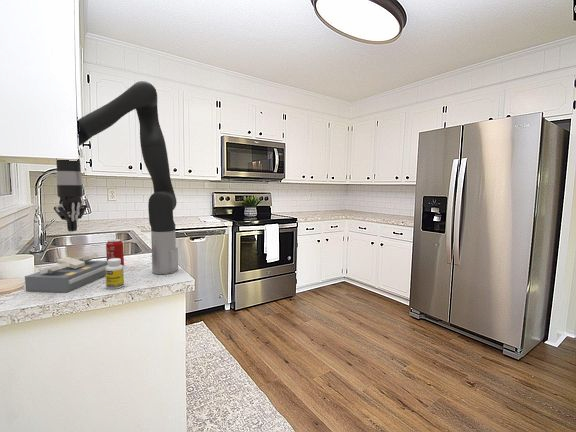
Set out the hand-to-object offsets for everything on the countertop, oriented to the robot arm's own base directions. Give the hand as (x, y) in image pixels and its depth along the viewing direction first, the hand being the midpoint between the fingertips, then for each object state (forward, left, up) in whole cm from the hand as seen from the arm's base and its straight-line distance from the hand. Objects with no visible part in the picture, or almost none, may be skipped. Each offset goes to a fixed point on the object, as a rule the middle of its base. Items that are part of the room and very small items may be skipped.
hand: (72, 230), depth 109 cm
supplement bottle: (-20, +7, -18) cm, 28 cm away
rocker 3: (-2, -4, -13) cm, 13 cm away
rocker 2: (-1, +3, -13) cm, 13 cm away
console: (-1, +3, -18) cm, 18 cm away
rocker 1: (-2, +10, -13) cm, 16 cm away
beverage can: (-5, -16, -18) cm, 25 cm away
